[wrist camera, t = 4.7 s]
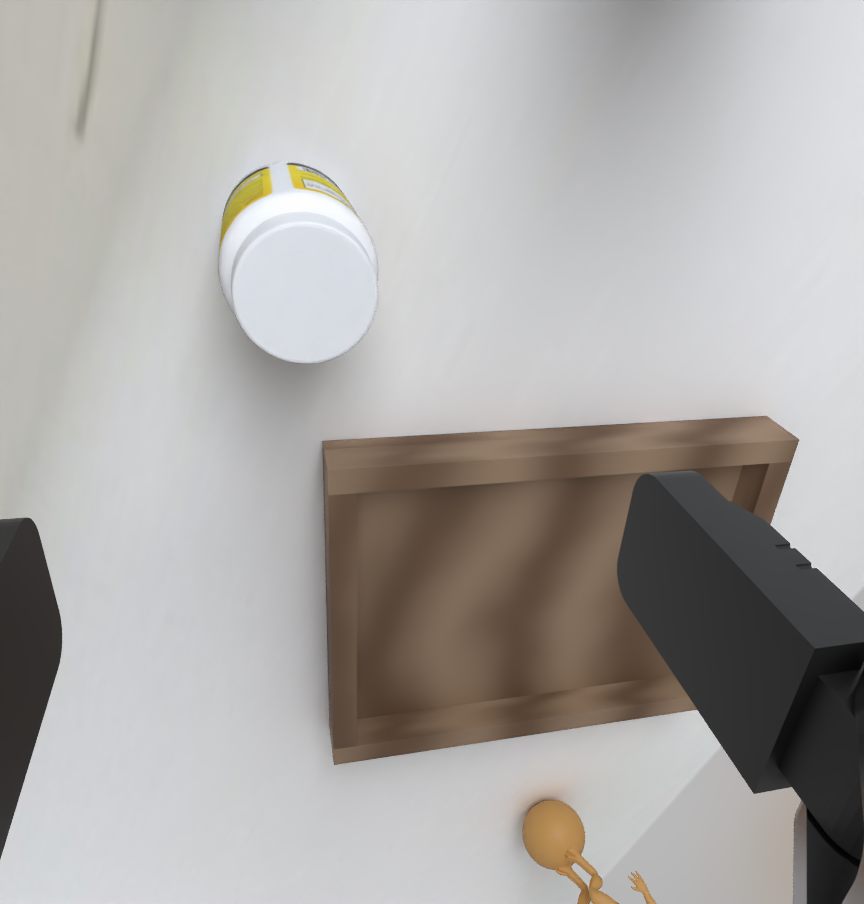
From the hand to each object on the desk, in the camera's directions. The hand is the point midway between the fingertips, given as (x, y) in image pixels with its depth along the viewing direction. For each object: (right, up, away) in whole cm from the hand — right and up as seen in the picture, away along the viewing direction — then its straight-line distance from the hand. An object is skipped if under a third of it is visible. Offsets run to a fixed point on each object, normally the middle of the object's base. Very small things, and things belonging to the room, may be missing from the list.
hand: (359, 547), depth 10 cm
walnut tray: (+7, -5, +28) cm, 29 cm away
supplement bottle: (-4, +10, +17) cm, 20 cm away
